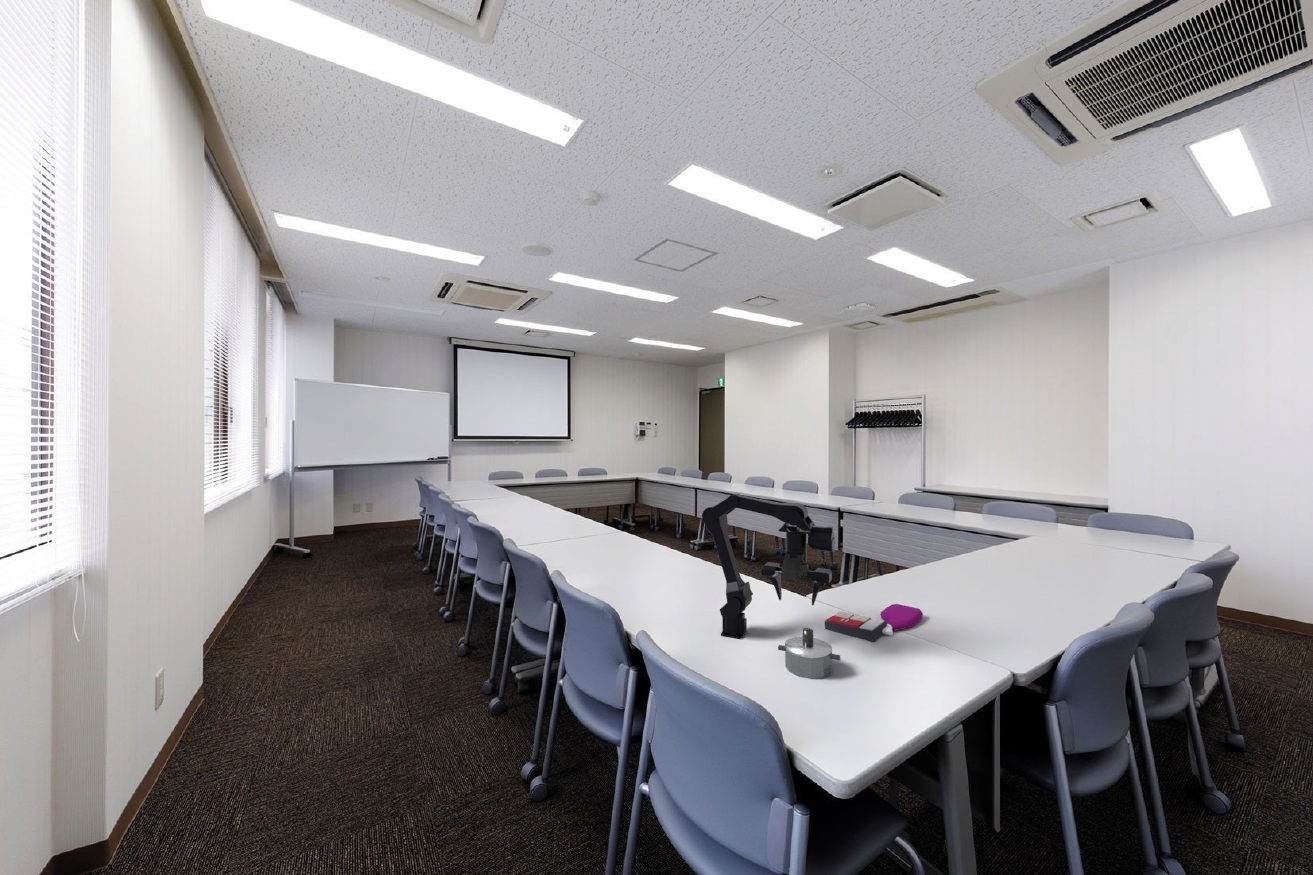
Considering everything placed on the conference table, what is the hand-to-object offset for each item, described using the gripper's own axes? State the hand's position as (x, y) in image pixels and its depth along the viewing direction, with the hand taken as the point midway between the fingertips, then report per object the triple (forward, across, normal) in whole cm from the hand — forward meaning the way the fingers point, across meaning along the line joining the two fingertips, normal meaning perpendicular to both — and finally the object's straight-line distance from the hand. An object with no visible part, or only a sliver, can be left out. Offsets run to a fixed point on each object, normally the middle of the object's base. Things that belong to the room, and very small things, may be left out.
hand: (796, 602), depth 138 cm
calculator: (+13, +14, +19) cm, 27 cm away
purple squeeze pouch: (+12, +24, +30) cm, 41 cm away
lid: (+8, +6, -13) cm, 16 cm away
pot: (+12, +6, -13) cm, 19 cm away
